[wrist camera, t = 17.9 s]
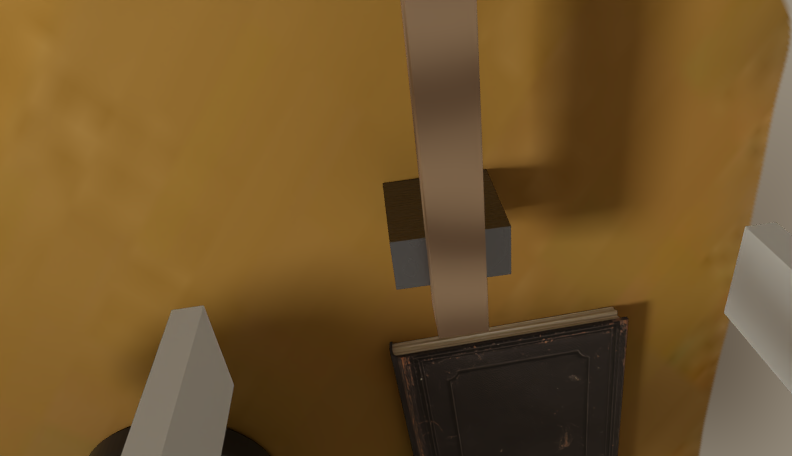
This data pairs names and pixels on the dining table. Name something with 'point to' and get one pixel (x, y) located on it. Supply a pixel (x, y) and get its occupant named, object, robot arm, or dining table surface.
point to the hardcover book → (517, 388)
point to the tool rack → (411, 233)
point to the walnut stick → (449, 157)
